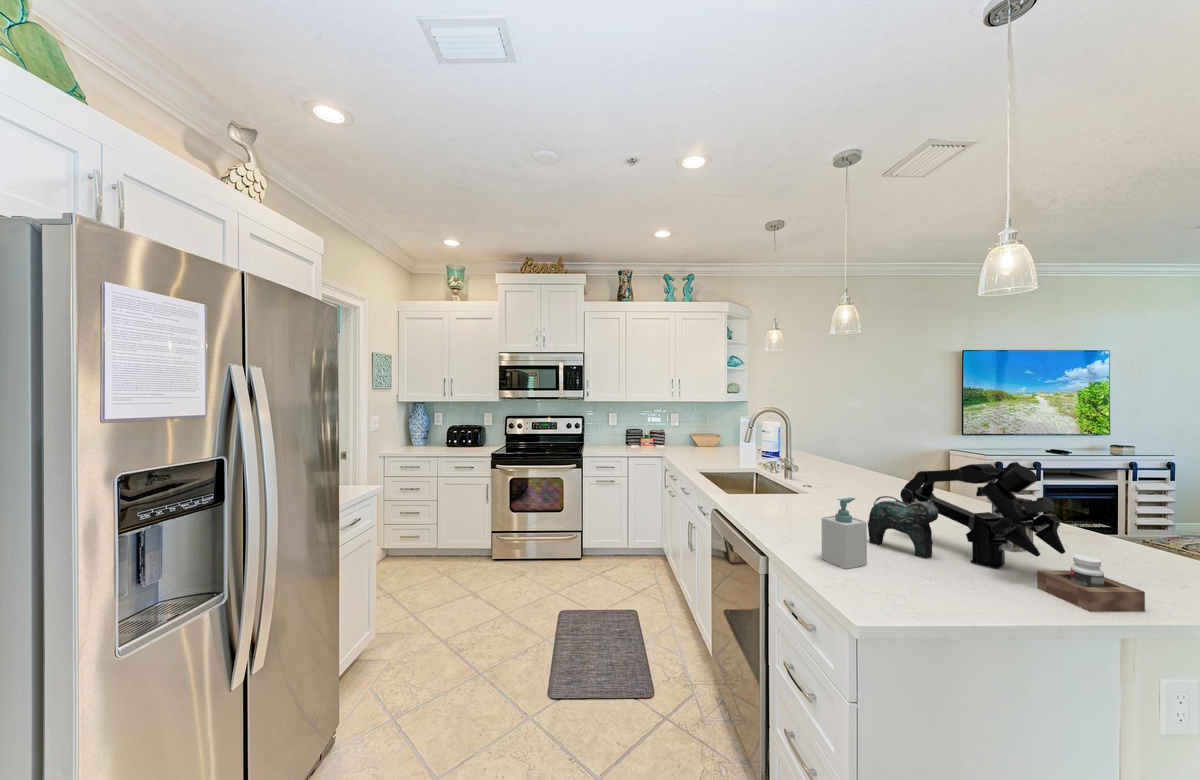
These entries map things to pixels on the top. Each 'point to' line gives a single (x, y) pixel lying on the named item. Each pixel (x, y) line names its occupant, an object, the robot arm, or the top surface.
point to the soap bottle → (844, 538)
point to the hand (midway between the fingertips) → (1051, 554)
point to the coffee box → (1009, 545)
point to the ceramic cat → (904, 522)
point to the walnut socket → (1091, 592)
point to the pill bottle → (1087, 571)
